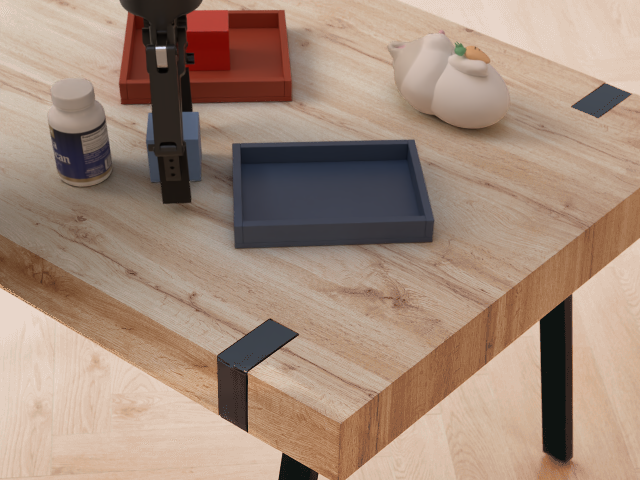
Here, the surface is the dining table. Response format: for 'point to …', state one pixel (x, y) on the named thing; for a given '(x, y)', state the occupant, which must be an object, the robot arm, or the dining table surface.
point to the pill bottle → (79, 133)
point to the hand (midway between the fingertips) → (179, 161)
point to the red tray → (224, 85)
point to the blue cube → (192, 144)
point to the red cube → (208, 40)
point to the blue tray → (329, 194)
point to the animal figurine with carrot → (449, 81)
